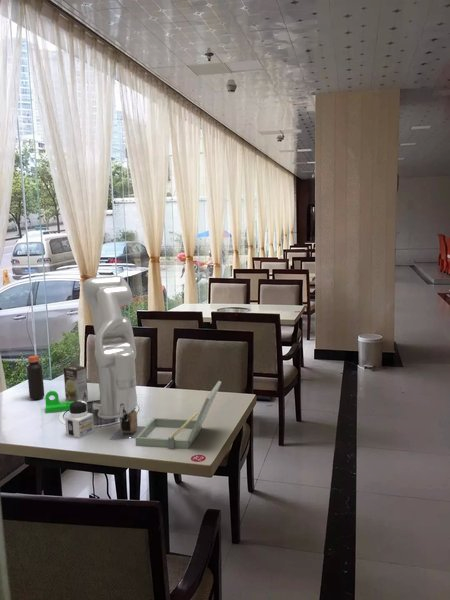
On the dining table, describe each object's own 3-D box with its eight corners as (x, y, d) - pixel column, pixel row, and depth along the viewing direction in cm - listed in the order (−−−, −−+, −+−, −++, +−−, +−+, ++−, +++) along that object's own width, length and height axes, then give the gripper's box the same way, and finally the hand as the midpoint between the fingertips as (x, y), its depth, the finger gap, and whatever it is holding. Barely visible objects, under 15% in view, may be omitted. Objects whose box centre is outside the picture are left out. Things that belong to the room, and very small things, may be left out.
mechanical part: (45, 412, 233) (44, 395, 232) (46, 408, 239) (45, 391, 237) (73, 409, 236) (72, 392, 235) (74, 405, 242) (72, 388, 240)
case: (134, 448, 193) (131, 395, 190) (154, 426, 214) (151, 378, 211) (210, 453, 187) (208, 399, 184) (223, 429, 208) (221, 380, 205)
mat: (108, 440, 201) (108, 439, 201) (123, 426, 214) (123, 425, 214) (136, 442, 198) (136, 441, 198) (148, 427, 212) (148, 426, 212)
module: (120, 432, 204) (119, 413, 203) (125, 427, 209) (124, 408, 208) (132, 433, 203) (131, 414, 202) (137, 427, 208) (136, 409, 207)
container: (79, 439, 203) (77, 407, 201) (66, 435, 207) (63, 403, 205) (94, 432, 209) (92, 400, 207) (80, 428, 213) (78, 397, 211)
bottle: (41, 399, 251) (38, 358, 248) (27, 399, 251) (23, 358, 248) (46, 394, 257) (43, 354, 254) (32, 394, 257) (29, 355, 254)
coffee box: (65, 400, 247) (62, 367, 245) (75, 396, 253) (73, 364, 250) (78, 404, 242) (76, 370, 240) (89, 399, 248) (86, 366, 245)
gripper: (125, 375, 212) (128, 418, 215) (107, 389, 196) (111, 435, 199) (143, 376, 211) (145, 419, 214) (126, 390, 194) (129, 437, 197)
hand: (128, 427), depth 206 cm, fingers closed on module, 4 cm apart
